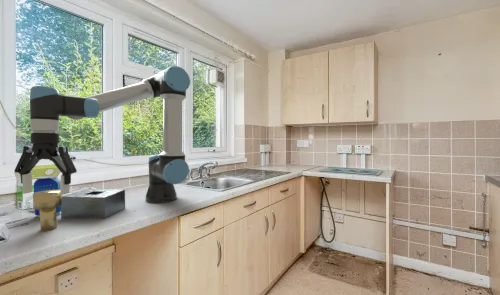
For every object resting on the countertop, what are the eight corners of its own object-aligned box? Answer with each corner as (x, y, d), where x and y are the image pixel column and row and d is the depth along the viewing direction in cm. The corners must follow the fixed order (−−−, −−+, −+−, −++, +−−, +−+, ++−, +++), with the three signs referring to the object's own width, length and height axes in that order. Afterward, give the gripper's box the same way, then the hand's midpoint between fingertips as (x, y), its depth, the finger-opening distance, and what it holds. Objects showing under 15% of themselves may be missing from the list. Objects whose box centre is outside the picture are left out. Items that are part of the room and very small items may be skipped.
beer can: (31, 219, 92) (29, 179, 92) (39, 213, 100) (38, 175, 99) (57, 217, 96) (56, 177, 95) (64, 211, 103) (63, 174, 103)
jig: (125, 208, 108) (124, 189, 107) (105, 218, 94) (104, 197, 93) (86, 207, 108) (86, 189, 108) (61, 217, 94) (60, 196, 94)
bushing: (67, 225, 87) (66, 189, 86) (49, 233, 79) (48, 194, 79) (48, 224, 87) (46, 189, 87) (27, 232, 80) (26, 194, 79)
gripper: (88, 133, 85) (88, 191, 86) (21, 132, 86) (22, 190, 87) (71, 132, 78) (72, 196, 78) (-2, 131, 79) (0, 194, 79)
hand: (46, 193), depth 83 cm, fingers open, 13 cm apart
